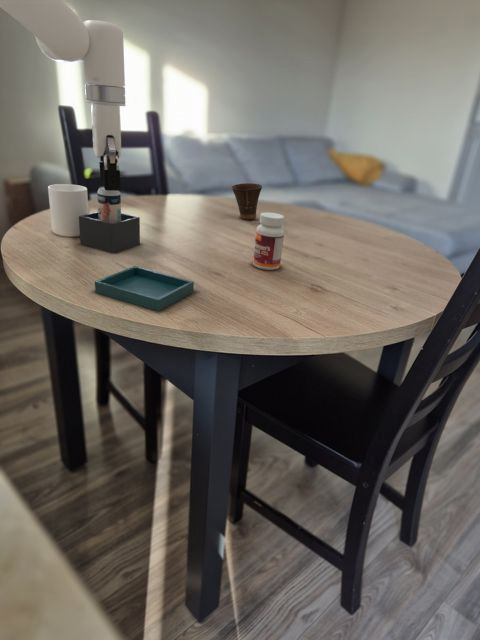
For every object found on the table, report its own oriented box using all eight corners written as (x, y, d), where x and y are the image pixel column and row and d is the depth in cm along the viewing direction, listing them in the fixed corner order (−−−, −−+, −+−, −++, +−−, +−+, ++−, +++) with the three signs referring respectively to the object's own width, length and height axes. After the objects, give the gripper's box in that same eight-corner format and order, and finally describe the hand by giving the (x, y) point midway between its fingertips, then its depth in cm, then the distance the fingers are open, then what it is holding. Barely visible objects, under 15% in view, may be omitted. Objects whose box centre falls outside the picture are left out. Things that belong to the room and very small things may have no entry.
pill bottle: (247, 265, 107) (252, 213, 101) (262, 259, 111) (267, 210, 106) (270, 272, 104) (276, 220, 99) (284, 266, 109) (291, 216, 103)
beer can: (97, 240, 110) (94, 186, 104) (118, 239, 112) (117, 186, 106) (102, 246, 106) (100, 190, 101) (124, 245, 108) (122, 190, 103)
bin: (80, 244, 107) (78, 215, 104) (108, 236, 114) (107, 209, 112) (113, 253, 104) (112, 224, 101) (140, 244, 112) (139, 217, 109)
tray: (95, 292, 84) (94, 281, 83) (135, 275, 93) (134, 265, 92) (158, 311, 80) (158, 300, 79) (193, 291, 89) (194, 281, 88)
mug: (45, 224, 117) (40, 180, 113) (80, 223, 122) (77, 181, 117) (56, 238, 109) (52, 191, 104) (94, 236, 113) (91, 191, 108)
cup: (223, 215, 147) (226, 181, 142) (246, 214, 152) (249, 181, 148) (241, 222, 141) (244, 187, 136) (264, 220, 147) (268, 186, 142)
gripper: (83, 92, 101) (89, 177, 109) (88, 96, 87) (94, 193, 95) (120, 96, 104) (123, 178, 112) (131, 100, 90) (133, 194, 98)
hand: (110, 185), depth 103 cm, fingers open, 9 cm apart
